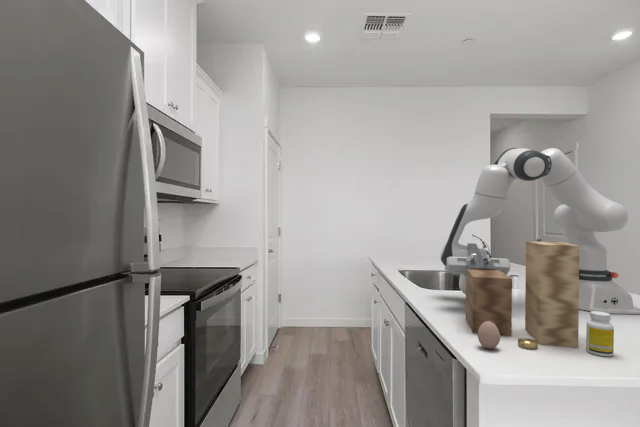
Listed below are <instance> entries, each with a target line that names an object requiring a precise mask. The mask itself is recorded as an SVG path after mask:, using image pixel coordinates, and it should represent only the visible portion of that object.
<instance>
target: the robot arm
mask: <svg viewBox="0 0 640 427" xmlns="http://www.w3.org/2000/svg"><path fill="white" fill-rule="evenodd" d="M539 179H541V181H542V182H543V184H544V185H545V187H546V188H547V189H548V192H550V193H551V195H552V197H553V198H554V199H555V200H556V201H557V202H558V203H560V204H561V205H559V206H557V208H556V209H554V212H553V213H554V214H553V219H554V223H555V224H556V225H557V226H558V227H559V228H560V229H561V230H562V232H563V233H564V236H565V237H566V239H567V240H566V241H567V242H568V244H573V245H579V310H583V311H588V312H591V311H598V312H605V313H608V314H614V315H615V314H619V315H620V314H621V315H623V314H624V315H640V308H638V307H636V306H634V300H633V297H632V295H631V294H630V293H629V291H627V290H626V289H625V288H623V287H621V286H620V285H618V284H617V283H616V282H614V281H613V279H618V278H619V277H620V276H619V275H620V274H619V273H617V272H615V271H613V272H611V271H609V270H608V269H607V254H608V252H607V248H606V247H605V245H604V244H602V243H600V242H599V241H598V239H597V238H596V236H595V233H596V232H597V233H608V232H610V233H611V232H615V231H620V230H622V229H624V227H625V226H626V225H627V223H628V219H629V214H628V210H627V209H626V207H625V206H624V205H623V204H621V203H619V202H616V201H613V200H611V199H609V198H608V197H606V196H604V195H603V194H601V193H600V192H598V191H597V190H596V189H594V188H593V187H592V186H591V185H590V184H589V183H588V182H587V181H586V179H585V178H584V176H583V175H582V174H581V173H580V171H579V170H578V168H577V167H576V165H575V164H574V163H573V162H572V161H571V159H570V158H569V157H568V156H567V155H566V154H565V153H564V152H563V151H561V150H560V149H558V148H555V147H550V148H546V149H543V150H542V151H539V150H534V149H529V148H526V147H525V148H523V147H512V148H508V149H506V150H504V151H502V152H501V154H500V155H499V157H498V159H496V161H495V162H494V164H489V165H486V166H484V168H483V169H482V170H481V172H480V175H479V177H478V180H477V183H476V186H475V191H474V195H473V197H472V198H471V200H470V201H469V202H468V203H465V204H463V205H462V207H461V208H460V211H459V212H458V214H457V217H456V219H455V221H454V223H453V226H452V229H451V231H450V234H449V235H448V238H447V241H446V242H445V244H444V246H443V247H442V249H441V252H440V261H441V262H442V264H443V265H444V271H446V272H447V273H449V274H453V275H454V274H455V275H456V274H457V275H460V276H459V281H458V285H459V289H460V291H461V293H462V294H465V295H466V266H467V261H476V254H471V256H469V255H468V252H467V245H465V244H461V243H459V240H460V239H461V236H462V234H463V231H464V230H465V228H466V226H467V225H468V224H470V223H471V222H474V221H479V220H480V221H482V220H486V219H487V220H488V219H492V218H495V217H496V216H498V215H500V214H501V213H502V211H503V210H504V208H505V205H506V202H507V199H508V194H509V189H510V187H511V185H512V184H513V182H514V181H515V180H521V181H525V182H531V181H535V180H539ZM594 232H595V233H594ZM478 249H479V251H480V253H481V255H482V257H483V260H484V262H493V264H494V266H495V268H496V270H498V271H501V272H502V273H504V274H506V275H507V276H508V274H509V273H510V270H511V261H510V260H509V258H497V257H494V258H493V257H492V255H491V253H490V252H489V250H487V249H485V248H480V247H478Z"/></svg>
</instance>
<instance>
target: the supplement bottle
mask: <svg viewBox="0 0 640 427" xmlns="http://www.w3.org/2000/svg"><path fill="white" fill-rule="evenodd" d="M589 314H590V317H589V318H591V319H589V320H587V321H586V336H585V337H586V343H585V344H586V348H585V350H586V351H587V352H588V353H590V354H592V355H594V356H595V355H596V356H599V357H612V356H614V350H615V349H614V341H615V340H614V338H615V337H614V333H615V332H614V331H615V326H614V325H613V324H612V323H611V322H610V321H611V313H605V312H598V311H589Z"/></svg>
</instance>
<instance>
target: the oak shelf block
mask: <svg viewBox="0 0 640 427" xmlns="http://www.w3.org/2000/svg"><path fill="white" fill-rule="evenodd" d="M524 299H525V300H524V301H525V304H524V306H525V307H524V310H525V311H524V312H525V313H524V314H525V315H524V318H525V319H524V330H525V331H526V333H528V334H529V335H530V337H531V338H532V339H533V340H536V341H537V342H538V344H539V345H547V346H558V347H566V348H567V347H570V348H579V329H580V328H579V322H580V321H579V317H580V316H579V314H580V309H579V245H573V244H569V243H567V242H561V241H529V240H527V241H525V298H524Z"/></svg>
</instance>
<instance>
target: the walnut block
mask: <svg viewBox="0 0 640 427" xmlns="http://www.w3.org/2000/svg"><path fill="white" fill-rule="evenodd" d="M512 303H513V278H512V277H510V276H509V275H508V274H507V275H506V274H504V273H502V272H501V271H498V270H475V269H466V294H465V320H466V322H467V325H468V326H469V328H470V330H471V332H472V334H477V335H478V330H479V328H480V326H481V325H482V323H484V322H486V321H490V322H492V323H494V324H495V325H496V327H497V328H498V330H499V333H500V337H501V336H502V337H503V336H504V337H512V326H513V325H512V323H513V321H512V319H513V317H512V316H513V314H512V313H513V309H512V308H513V306H512V305H513V304H512Z"/></svg>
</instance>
